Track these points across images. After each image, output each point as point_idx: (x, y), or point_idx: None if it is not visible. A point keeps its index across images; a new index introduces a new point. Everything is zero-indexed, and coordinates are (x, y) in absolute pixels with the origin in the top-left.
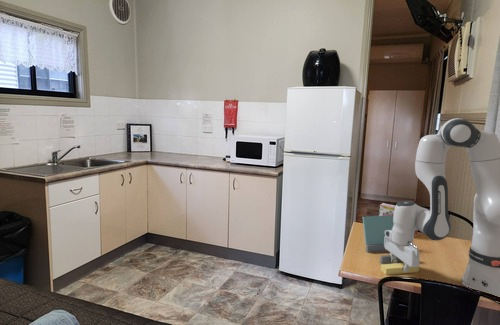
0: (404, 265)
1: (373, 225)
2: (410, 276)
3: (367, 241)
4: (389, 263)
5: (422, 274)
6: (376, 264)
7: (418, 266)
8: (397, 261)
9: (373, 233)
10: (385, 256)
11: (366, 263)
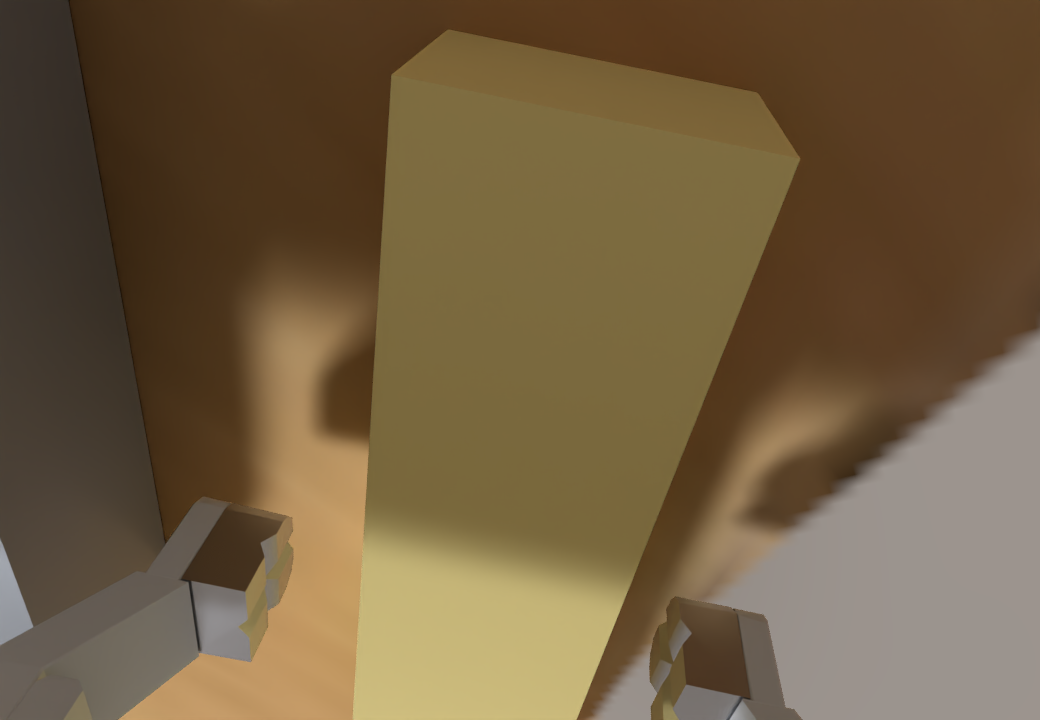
0: (526, 543)
1: None
2: (804, 492)
3: None
4: (143, 437)
5: (945, 116)
6: None
7: (786, 183)
8: (82, 267)
9: None
10: None
11: (137, 711)
